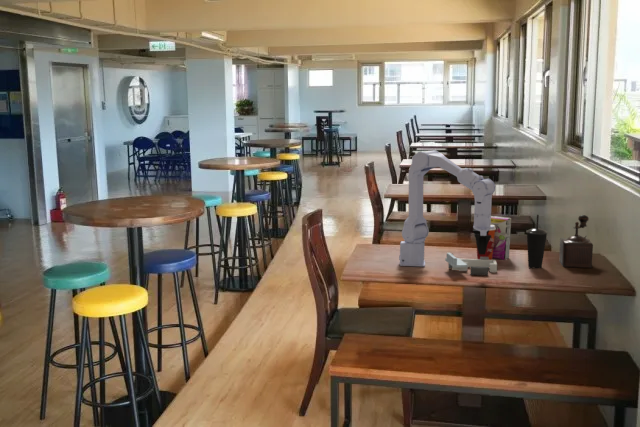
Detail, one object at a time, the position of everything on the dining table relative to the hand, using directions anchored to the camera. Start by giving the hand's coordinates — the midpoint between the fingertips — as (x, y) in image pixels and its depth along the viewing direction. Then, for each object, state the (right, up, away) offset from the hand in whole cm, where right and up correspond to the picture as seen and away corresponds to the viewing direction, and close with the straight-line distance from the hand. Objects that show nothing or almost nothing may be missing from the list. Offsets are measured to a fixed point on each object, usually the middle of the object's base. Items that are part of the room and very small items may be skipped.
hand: (481, 251), depth 236 cm
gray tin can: (+1, -8, +7) cm, 11 cm away
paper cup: (+8, -5, +28) cm, 29 cm away
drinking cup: (+24, -7, +17) cm, 30 cm away
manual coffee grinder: (+42, -6, +23) cm, 48 cm away
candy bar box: (+13, -4, +32) cm, 34 cm away
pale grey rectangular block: (0, -7, +14) cm, 16 cm away
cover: (-7, -5, +8) cm, 12 cm away
